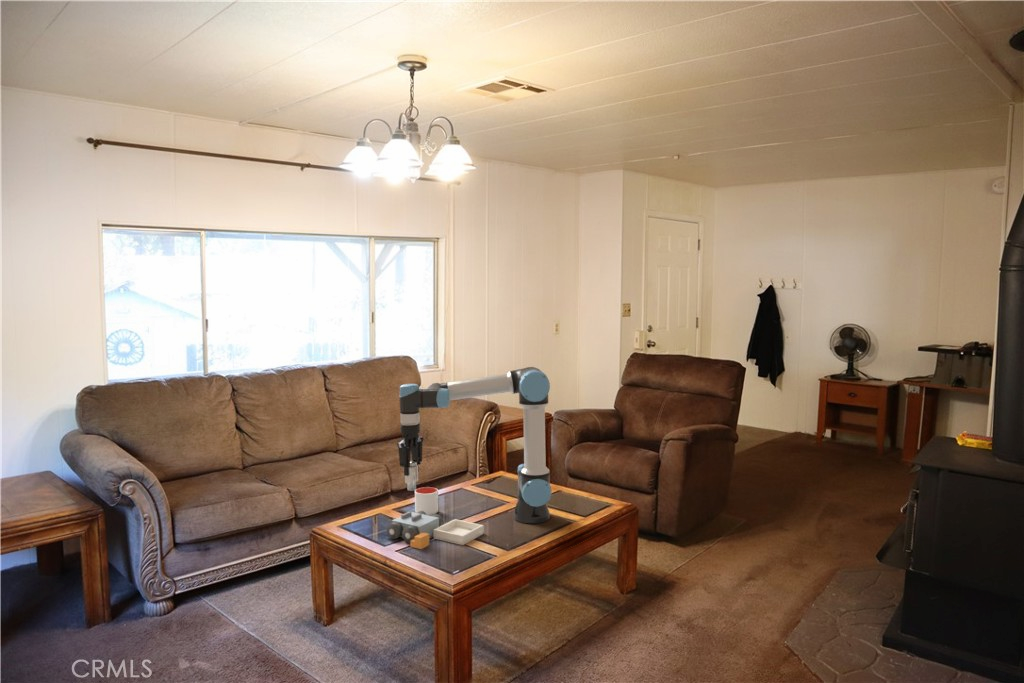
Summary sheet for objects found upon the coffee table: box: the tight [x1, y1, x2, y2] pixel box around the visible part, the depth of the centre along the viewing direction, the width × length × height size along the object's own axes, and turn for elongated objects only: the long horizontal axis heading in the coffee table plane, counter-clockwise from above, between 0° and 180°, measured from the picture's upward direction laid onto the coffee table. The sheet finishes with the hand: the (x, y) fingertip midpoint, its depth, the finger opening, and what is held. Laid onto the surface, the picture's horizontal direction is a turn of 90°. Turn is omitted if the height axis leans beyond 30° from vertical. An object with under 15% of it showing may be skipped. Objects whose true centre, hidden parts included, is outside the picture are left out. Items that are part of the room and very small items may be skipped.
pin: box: [406, 460, 417, 492], centre depth 267 cm, size 5×5×11 cm
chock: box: [409, 533, 430, 550], centre depth 255 cm, size 5×5×4 cm
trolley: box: [386, 511, 445, 544], centre depth 267 cm, size 14×19×8 cm
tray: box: [433, 518, 485, 546], centre depth 265 cm, size 14×14×3 cm
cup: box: [414, 486, 439, 516], centre depth 292 cm, size 10×10×10 cm
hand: (411, 481), depth 267 cm, fingers closed on pin, 3 cm apart
